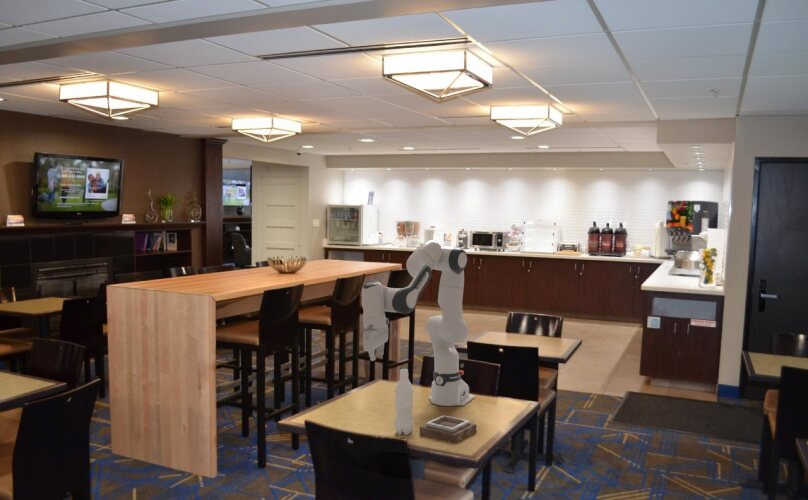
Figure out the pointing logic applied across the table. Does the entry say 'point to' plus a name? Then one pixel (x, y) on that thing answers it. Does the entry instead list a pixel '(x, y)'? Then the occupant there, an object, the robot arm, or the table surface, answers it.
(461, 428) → the display stand
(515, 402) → the table surface
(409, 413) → the water bottle
